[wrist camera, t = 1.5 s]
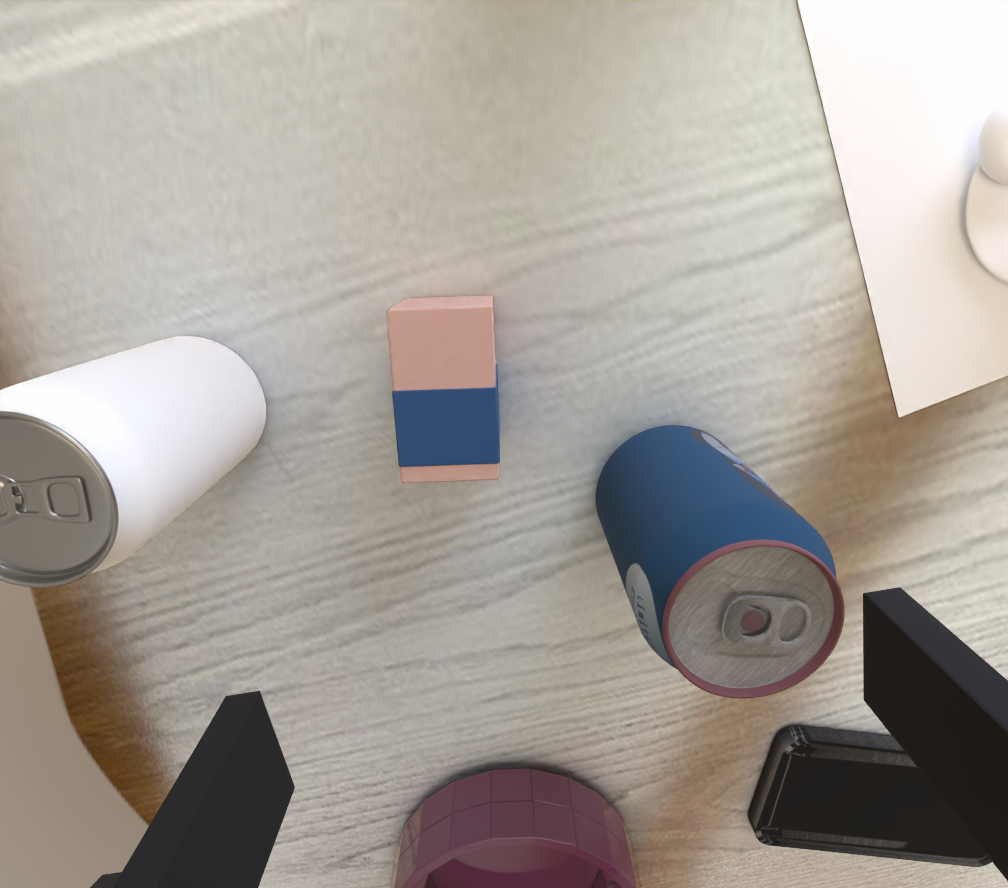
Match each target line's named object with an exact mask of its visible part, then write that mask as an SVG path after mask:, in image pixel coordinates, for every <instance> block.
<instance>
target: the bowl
mask: <svg viewBox="0 0 1008 888" xmlns="http://www.w3.org/2000/svg"><path fill="white" fill-rule="evenodd" d="M390 888H642V886H641V881H640V877H639V872H638V868H637V863H636V859H635V854H634V850H633V845H632V842H631V839H630V837H629V834H628V832H627V829H626V827H625V824H624V822H623V819H622V817H621V816H620V815H619V814H618V813H617V812H616V811H615V810H614V809H613V807H612V806H611V805H610V804H609V803H608V802H607V801H606V800H605V799H604V798H603V797H602V796H601V795H600V794H599V793H597V792H596V791H594V790H592V789H590V788H588V787H586V786H584V785H582V784H581V783H579V782H577V781H575V780H573V779H571V778H569V777H567V776H562V775H558V774H553V773H549V772H544V771H539V770H535V769H530V768H527V769H499V770H492V771H491V770H490V771H486V772H483V773H480V774H476V775H473V776H469V777H466V778H463V779H459V780H456V781H454V782H452V783H451V784H449V785H447V786H446V787H444V788H443V789H441V790H439V791H438V792H436V793H435V794H433V795H432V796H430V797H428V798H427V799H426V800H424V801H423V803H422V804H421V805H420V806H419V808H418V809H417V810H416V811H415V812H414V814H413V815H412V816H411V817H410V819H409V820H408V821H407V822H406V824H405V825H404V827H403V830H402V834H401V837H400V840H399V843H398V846H397V850H396V854H395V860H394V866H393V872H392V878H391V884H390Z"/></svg>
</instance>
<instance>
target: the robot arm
mask: <svg viewBox="0 0 1008 888" xmlns="http://www.w3.org/2000/svg"><path fill="white" fill-rule="evenodd" d="M863 653H864V701H865V702H866V703H867V704H868V706H869V707H870V708H871V709H872V711H873V712H874V713H875V715H876V716H877V717H878V718H879V720H880V721H881V722H882V723H883V725H884V726H885V727H886V728H887V730H888V731H889V732H890V733H891V735H892V736H893V737H894V738H895V740H896V741H897V742H898V743H899V745H900V746H901V747H902V748H903V750H904V751H905V752H906V754H907V755H908V756H909V757H910V759H911V760H912V761H913V762H914V764H915V765H916V766H917V767H918V769H919V770H920V771H921V772H922V774H923V775H924V776H925V777H926V779H927V780H928V781H929V782H930V784H931V785H932V786H933V788H934V789H935V790H936V791H937V793H938V794H939V795H940V796H941V798H942V799H943V800H944V801H945V803H946V804H947V805H948V806H949V808H950V809H951V810H952V811H953V813H954V814H955V815H956V816H957V818H958V819H959V820H960V821H961V823H962V824H963V825H964V827H965V828H966V829H967V830H968V832H969V833H970V834H971V835H972V837H973V838H974V839H975V840H976V842H977V843H978V844H979V845H980V847H981V848H982V849H983V850H984V852H985V853H986V854H987V855H988V857H989V858H990V859H991V860H992V862H993V863H994V864H995V866H996V867H997V868H998V869H999V871H1000V872H1001V873H1002V874H1003V876H1004V877H1005V878H1006V879H1007V881H1008V681H1007V680H1006V679H1005V678H1004V677H1003V676H1002V675H1001V674H999V673H998V672H997V671H996V670H995V669H994V668H992V667H991V666H990V665H989V664H988V663H987V662H986V661H984V660H983V659H982V658H981V657H980V656H979V655H977V654H976V653H975V652H974V651H973V650H972V649H971V648H969V647H968V646H967V645H966V644H965V643H964V642H962V641H961V640H960V639H959V638H958V637H957V636H956V635H954V634H953V633H952V632H951V631H950V630H949V629H947V628H946V627H945V626H944V625H943V624H942V623H941V622H939V621H938V620H937V619H936V618H935V617H934V616H932V615H931V614H930V613H929V612H928V611H927V610H926V609H924V608H923V607H922V606H921V605H920V604H919V603H917V602H916V601H915V600H914V599H913V598H912V597H911V596H909V595H908V594H907V593H906V592H905V591H904V590H902V589H901V588H900V587H899V588H893V589H887V590H881V591H875V592H869V593H863ZM294 788H295V786H294V784H293V781H292V778H291V775H290V773H289V770H288V767H287V764H286V762H285V759H284V756H283V753H282V751H281V748H280V745H279V743H278V740H277V737H276V734H275V732H274V729H273V726H272V723H271V721H270V718H269V715H268V712H267V710H266V707H265V704H264V701H263V699H262V696H261V693H260V691H255V692H249V693H243V694H237V695H231V696H226V697H225V699H224V700H223V702H222V704H221V706H220V707H219V709H218V711H217V712H216V714H215V716H214V717H213V719H212V721H211V722H210V724H209V726H208V728H207V729H206V731H205V733H204V734H203V736H202V738H201V739H200V741H199V743H198V744H197V746H196V748H195V750H194V751H193V753H192V755H191V756H190V758H189V760H188V761H187V763H186V765H185V766H184V768H183V770H182V772H181V773H180V775H179V777H178V778H177V780H176V782H175V783H174V785H173V787H172V789H171V790H170V792H169V794H168V795H167V797H166V799H165V800H164V802H163V804H162V805H161V807H160V809H159V811H158V812H157V814H156V816H155V817H154V819H153V821H152V822H151V824H150V826H149V827H148V829H147V831H146V833H145V834H144V836H143V838H142V839H141V841H140V843H139V845H138V846H137V848H136V850H135V851H134V853H133V855H132V856H131V858H130V860H129V862H128V863H127V865H126V866H125V868H124V870H123V871H122V872H120V873H113V874H106V875H102V876H101V877H100V878H99V879H98V880H97V881H96V882H95V883H94V884H93V885H92V886H91V888H258V886H259V884H260V881H261V878H262V875H263V873H264V870H265V867H266V864H267V862H268V859H269V856H270V854H271V851H272V848H273V845H274V843H275V840H276V837H277V835H278V832H279V829H280V826H281V824H282V821H283V818H284V815H285V813H286V810H287V807H288V805H289V802H290V799H291V796H292V794H293V791H294Z"/></svg>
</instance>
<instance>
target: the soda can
mask: <svg viewBox="0 0 1008 888" xmlns="http://www.w3.org/2000/svg"><path fill="white" fill-rule="evenodd" d="M596 507H597V513H598V516H599V519H600V522H601V525H602V528H603V530H604V533H605V536H606V538H607V541H608V544H609V547H610V549H611V552H612V555H613V557H614V560H615V563H616V566H617V568H618V571H619V574H620V576H621V579H622V582H623V585H624V587H625V590H626V593H627V595H628V598H629V601H630V604H631V606H632V609H633V612H634V614H635V617H636V620H637V622H638V625H639V628H640V630H641V632H642V634H643V636H644V638H645V640H646V641H647V643H648V644H649V645H650V647H651V648H652V649H653V650H654V651H655V652H656V653H657V654H658V655H659V656H660V657H661V658H662V659H663V660H665V661H666V662H667V663H668V664H670V665H671V666H673V667H675V668H676V669H678V670H679V671H680V673H681V674H682V675H683V676H684V677H685V678H686V679H688V680H689V681H690V682H691V683H693V684H694V685H696V686H697V687H699V688H701V689H702V690H704V691H707V692H709V693H712V694H715V695H718V696H722V697H729V698H756V697H763V696H767V695H771V694H775V693H778V692H781V691H783V690H786V689H788V688H790V687H792V686H794V685H796V684H798V683H799V682H801V681H803V680H804V679H806V678H807V677H808V676H810V675H811V674H812V673H813V672H815V671H816V670H817V669H818V668H819V667H820V666H821V665H822V664H823V663H824V661H825V660H826V659H827V658H828V656H829V655H830V654H831V652H832V651H833V649H834V647H835V645H836V644H837V641H838V639H839V637H840V634H841V631H842V627H843V622H844V600H843V595H842V592H841V589H840V586H839V584H838V582H837V580H836V571H835V566H834V562H833V558H832V555H831V553H830V550H829V548H828V546H827V545H826V543H825V541H824V540H823V538H822V537H821V535H820V534H819V533H818V532H817V531H816V530H815V529H814V528H813V527H812V526H811V525H810V524H809V523H808V522H807V521H806V520H805V519H804V518H803V517H802V516H801V515H799V514H798V513H797V512H796V511H795V510H794V509H793V508H792V507H791V506H790V505H789V504H788V503H786V502H785V501H784V500H783V499H782V498H781V497H780V496H779V495H778V494H777V493H776V492H775V491H773V490H772V489H771V488H770V487H769V486H768V485H767V484H766V483H765V482H764V481H763V480H762V479H760V478H759V477H758V476H757V475H756V474H755V473H754V472H753V471H752V470H751V469H750V468H749V467H747V466H746V465H745V464H744V463H743V462H742V461H741V460H740V459H739V458H738V457H737V456H736V455H734V454H733V453H732V452H731V451H730V450H729V449H728V448H727V447H726V446H725V445H724V444H722V443H721V442H720V441H719V440H718V439H716V438H715V437H713V436H712V435H710V434H708V433H706V432H704V431H702V430H699V429H696V428H692V427H687V426H677V425H672V426H661V427H656V428H652V429H649V430H646V431H644V432H641V433H639V434H637V435H635V436H634V437H632V438H630V439H629V440H627V441H626V442H625V443H623V444H622V445H621V446H620V447H619V448H618V449H617V450H616V451H615V452H614V453H613V454H612V455H611V457H610V458H609V459H608V461H607V462H606V464H605V466H604V468H603V470H602V472H601V474H600V477H599V480H598V484H597V489H596Z"/></svg>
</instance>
